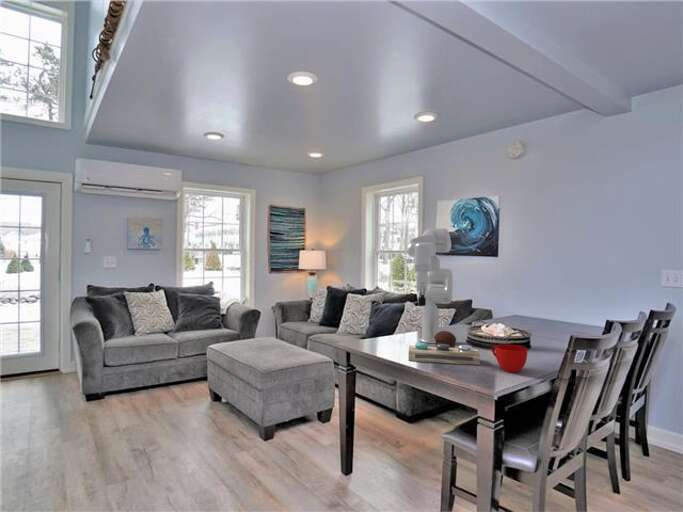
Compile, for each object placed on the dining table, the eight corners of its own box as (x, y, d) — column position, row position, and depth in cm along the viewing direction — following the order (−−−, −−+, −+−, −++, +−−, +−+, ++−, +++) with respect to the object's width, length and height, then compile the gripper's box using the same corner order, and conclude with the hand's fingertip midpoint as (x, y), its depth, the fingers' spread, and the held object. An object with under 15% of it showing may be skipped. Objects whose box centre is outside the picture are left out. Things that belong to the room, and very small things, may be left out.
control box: (409, 355, 207) (409, 345, 207) (476, 359, 201) (476, 348, 201) (408, 360, 197) (408, 350, 196) (479, 365, 190) (479, 354, 190)
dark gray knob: (436, 356, 202) (436, 343, 202) (449, 356, 201) (449, 344, 201) (436, 359, 196) (436, 346, 196) (449, 360, 195) (450, 346, 195)
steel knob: (457, 357, 200) (457, 344, 200) (470, 358, 199) (470, 345, 199) (458, 360, 194) (458, 347, 194) (472, 361, 193) (472, 347, 193)
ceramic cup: (502, 363, 194) (502, 341, 194) (533, 372, 179) (534, 349, 179) (481, 366, 188) (482, 344, 188) (512, 376, 173) (512, 352, 173)
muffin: (460, 352, 214) (460, 333, 214) (440, 354, 211) (441, 334, 211) (448, 347, 225) (449, 329, 225) (430, 348, 222) (430, 329, 222)
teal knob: (415, 355, 204) (415, 342, 204) (427, 355, 203) (427, 343, 203) (415, 358, 198) (415, 345, 198) (428, 358, 197) (428, 345, 197)
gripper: (414, 267, 213) (414, 302, 214) (414, 269, 199) (414, 307, 199) (429, 267, 212) (429, 303, 213) (430, 269, 197) (430, 308, 198)
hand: (422, 305), depth 206 cm, fingers closed
